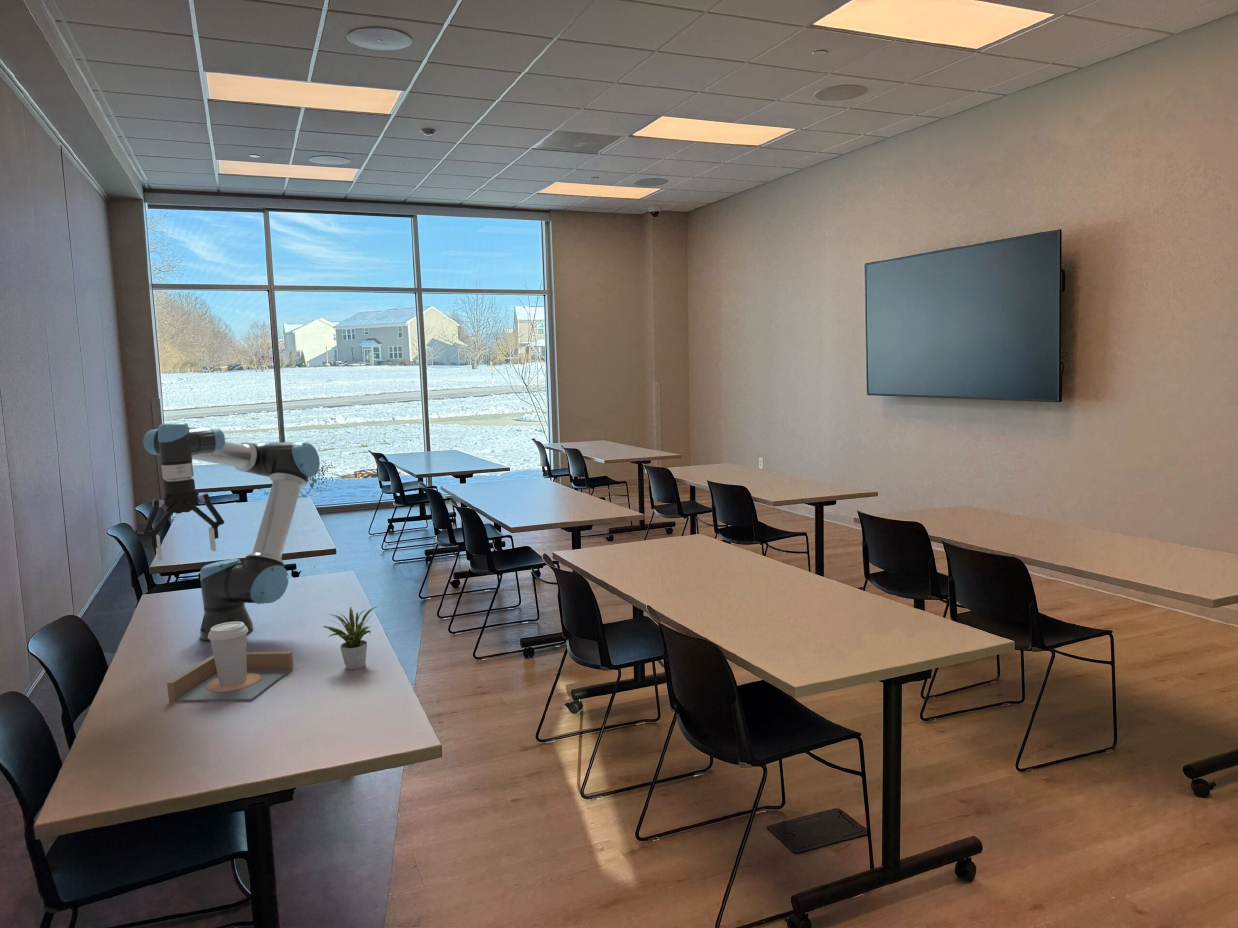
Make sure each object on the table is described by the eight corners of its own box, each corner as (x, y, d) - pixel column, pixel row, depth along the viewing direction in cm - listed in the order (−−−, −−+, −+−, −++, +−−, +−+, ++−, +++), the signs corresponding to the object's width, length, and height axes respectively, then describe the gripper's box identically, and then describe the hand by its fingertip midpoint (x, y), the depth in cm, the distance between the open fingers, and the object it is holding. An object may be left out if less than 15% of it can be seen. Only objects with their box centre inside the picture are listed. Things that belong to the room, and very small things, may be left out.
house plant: (363, 652, 234) (359, 596, 232) (395, 660, 226) (390, 602, 224) (320, 668, 223) (315, 610, 221) (352, 677, 215) (346, 617, 213)
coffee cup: (212, 691, 207) (205, 634, 205) (213, 679, 216) (207, 624, 214) (253, 684, 211) (247, 627, 209) (253, 672, 219) (247, 618, 218)
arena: (218, 670, 225) (216, 652, 224) (293, 668, 223) (291, 651, 222) (169, 702, 203) (166, 682, 203) (251, 700, 201) (249, 681, 201)
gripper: (129, 486, 213) (138, 565, 215) (231, 474, 229) (238, 548, 231) (124, 483, 219) (133, 561, 221) (223, 473, 235) (231, 545, 237)
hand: (187, 555), depth 226 cm, fingers open, 13 cm apart
